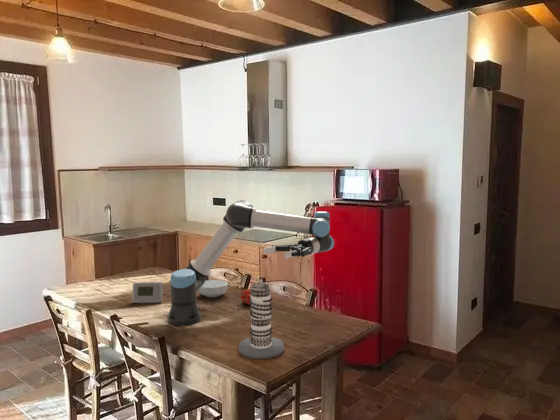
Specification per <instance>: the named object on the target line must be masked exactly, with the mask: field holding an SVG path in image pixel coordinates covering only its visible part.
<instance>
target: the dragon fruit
mask: <svg viewBox="0 0 560 420" xmlns="http://www.w3.org/2000/svg"><path fill="white" fill-rule="evenodd" d="M250 298H251V288H246V289H243V290H242V292H241V293H240V296H239V299H240V300H242V303H243V304H247V305H249V303H250V302H249V300H250ZM251 306H252V304H251Z"/></svg>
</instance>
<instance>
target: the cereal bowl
mask: <svg viewBox="0 0 560 420" xmlns="http://www.w3.org/2000/svg"><path fill="white" fill-rule="evenodd" d="M228 286H229V285H228V282H227V281H226V280H219V279H211V280H210V279H209V280H206V281H205V283H204V284H203V286H202V287H200V288H199V289H198V290H197V291H198V292H199V293H200V294H201V295H203V296H205V297H207V298H211V297H212V298H218V297H220V296H221V295H223V294H225V293H226V292H227V290H228Z"/></svg>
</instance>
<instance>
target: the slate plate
mask: <svg viewBox="0 0 560 420" xmlns="http://www.w3.org/2000/svg"><path fill="white" fill-rule="evenodd" d="M271 337H272V338H271V339H272V342H271V343H272V345H271V346H270V347H269V348H265V349H257V348H253V347H252V346H251V342H250V341H251V338H250V337H247V338H245V339H243V340H241V341H240V342H238V343H239V344H238V353H239V354H240V355H241V356H243V357H245V358H248V359H253V360H267V359H273V358H276V357H278V356H280V355H281V354H282V353H283V352H284V351H285V349H284V347H285V344H284V341H282V340H281V339H279V338H278V337H273V336H271ZM272 357H273V358H272Z"/></svg>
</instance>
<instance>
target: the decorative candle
mask: <svg viewBox="0 0 560 420" xmlns="http://www.w3.org/2000/svg"><path fill="white" fill-rule="evenodd" d="M271 288H272V287H271V286H270V285H269V284H268V283H267V282H265V281H257V282H254V283H253V284H252V285H251V286H250V288H249V289H251V298H250V300H249V302H250V303H249V304H248V305H249V307H250V308H249V315H250V318H251V323H250V329H249V330H250V332H249V333H250V337H249V338H251V341H250V342H251V346H252V347H253V348H257V349H265V348H269V347H270V346H271V345H272V343H271V342H272V339H271V338H272V337H273V335H272V328H273V327H272V322H271V318H272V312H271V310H273V308H272V306H273V303H271V302H273V299H272V295H271ZM251 304H252V305H251Z"/></svg>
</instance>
